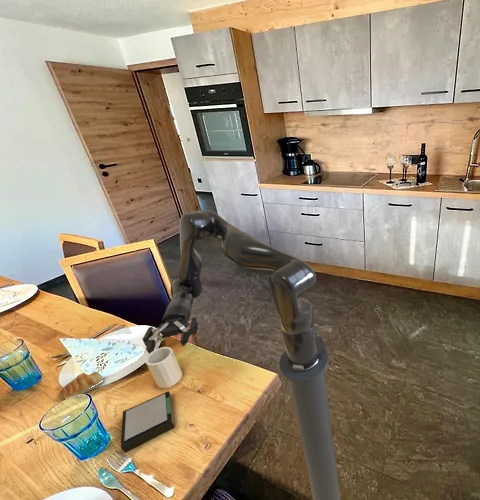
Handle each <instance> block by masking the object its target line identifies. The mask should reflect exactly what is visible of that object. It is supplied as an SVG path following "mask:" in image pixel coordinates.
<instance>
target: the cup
mask: <svg viewBox="0 0 480 500" xmlns="http://www.w3.org/2000/svg"><path fill="white" fill-rule="evenodd" d="M144 361H145V365H146V367H147V369H148V371H149V373H150V374H151V377H152V378H153V381H154V382H155V384H156V386H157V387H158V388H159V389H168V388H171V387H173V386H175V385H176V384H177V383H179V381H181V379H182V377H183V370H182V368H181V366H180V363H179V361H178V359H177V357H176V355H175V352H174V350H173V348H172V347H170V346H162V347H161V346H160V347H159V348H155V349H154V351H153V352H151V353H150V354H149V353H148V355H147V356H146V358H145V360H144Z"/></svg>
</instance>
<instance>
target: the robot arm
mask: <svg viewBox="0 0 480 500" xmlns="http://www.w3.org/2000/svg"><path fill="white" fill-rule="evenodd" d="M210 238H216V239H218V240H219V241H221V249H222V252H223V254H224V255H225V257H226V258H227V259H228V260H230V261H232V262H234V263H235V264H237V265H239V266H240V267H242V268H246V269H253V270H263V271H272V272H271V273H269V277H268V285H269V290H270V293H271V296H272V300H273V304H274V307H275V311H276V312H277V314H278V317H279V321H280V326H281V330H282V335H283V341H284V346H285V351H287V356H288V363H289V366H290V367H291V369H293V370H295V371H298V372H304V371H308V370H310V369H312V368H313V367H315V366H316V365H317V363H318V361H319V360H321V359H322V358H321V352H322V351H324V350H327V349H326V342H325V341H324V339H323V338H321V336H320V335H319V333H317V332H316V326H315V325H316V324H315V319H314V318H315V317H314V312H313V305H312V304H311V302H310V301H308V300H307V299H304V298H300V297H301V296H302V295H305V293H307V292H308V291H309V290H311V289H312V288H313V287H314V286H315V284H316V282H317V275H316V273H315V270H314V268H312V267H311V265H309V263H307V262H306V261H304V260H302V259H300V258H298V257H296V256H293V255H291V254H288V253H286V252H284V251H281V250H278V249H276V248H275V247H272V246H270V245H268V244H267V243H265V242H263V241H261V240H259V239H258V238H256V237H254V236H253V235H251V234H249V233H247V232H245V231H243V230H241V229H239V228H238V227H236V226H235V225H232V224H231V223H229V221H227V220H225V219H224V218H223V217H221V216H220V215H219V214H218V213H216V212H214V211H212V210H207V209H205V210H197V211H190V212H186V213H183V214H181V217H180V219H179V248H180V261H179V262H180V263H179V270H178V273H177V274H178V277H177V278H176V279H174V280H173V281H172V282H171V284H170V295H171V298H170V301H169V304H168V305H167V306H166V309H165V311H164V314H163V316H162V319H161V323H160V325H159V326H158V327H153V326H148V328H147V330H146V332H145V334H144V335H143V337H142V339H141V340H142V342H143V344H144V346H145V351H146V352H147V353H148V355H149V354H150V353H151V352H153V351H154V350H156V346H157V344H159V343H160V342H163V341H164V340H166V339H167V338H171V337H173V336H175V337H176V336H179V335H181V337H180V339H179V342H180V345H181V347H185V346H186V344H188V342H189V340H190V337H191V336H192V335H193V336H195V335H197V334H198V328H199V322H198V319H197V317H196V316H194V317H192V318H191V315H192V308H193V304H194V300H195V299H197V298H198V297H200V295H201V294H202V290H203V287H202V286H203V285H202V282H201V272H202V268H203V260H202V257H201V255H200V254H199V253H198V252H197V250H196V249H195V247H194V246H195V243H196V241H202V240H206V239H210ZM190 318H191V319H190ZM189 326H190V328H189V329H188V327H189Z"/></svg>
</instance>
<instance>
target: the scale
mask: <svg viewBox="0 0 480 500" xmlns="http://www.w3.org/2000/svg"><path fill="white" fill-rule="evenodd" d="M121 419H122V421H121V422H122V423H121V435H120V448H121V449H122V451H123V452H124V454H126V453H128V452H130V451H132V450H134V449H135V448H138V447H140V446H141V445H142V446H143V444H146V443H148V442H150V441H151V440H153V439H155V438H157V437H159V436H161V435H163V434H165V433H167V432H169V431H171V430H173V429H175V428H176V424H175V423H176V422H175V415H174V404H173V396H172V394H171V392H170V391H169V390H168V391H167V390H166V391H165V392H163V393H161V394H159V395H156V396H154V397H152V398H150V399H148V400H145V401H143V402H140V403H139V404H137V405H134V406H132V407H129V408H127V409H125V410H123V411H122V418H121Z"/></svg>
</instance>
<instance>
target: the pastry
mask: <svg viewBox="0 0 480 500" xmlns="http://www.w3.org/2000/svg"><path fill="white" fill-rule="evenodd" d="M102 380H103V382H101V381H102ZM99 382H101V383H99ZM98 383H99V384H98ZM104 383H105V379H104V377H103V376H102V375H100V374H99V373H98V372H95V373H93V374H90V375H87V374H85V373H84V372H83V373H80V374H78V375H77V376H76V377H75V378H74V379H72V380H71V381H70V382H68V383H67V384H65V385H64V387H62V388H61V389H60V390H59V393H58V399H61V400H64V399H65V398H68V397H70V396H74V395H77V394H82V395H84V394H86V393H89V392H91V391H92V390H94V389H97V388H99V387H100V386H101V385H103V384H104ZM96 384H97V385H96ZM94 385H95V386H94ZM92 386H94V387H92ZM91 387H92V388H91ZM89 388H90V389H89Z"/></svg>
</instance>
